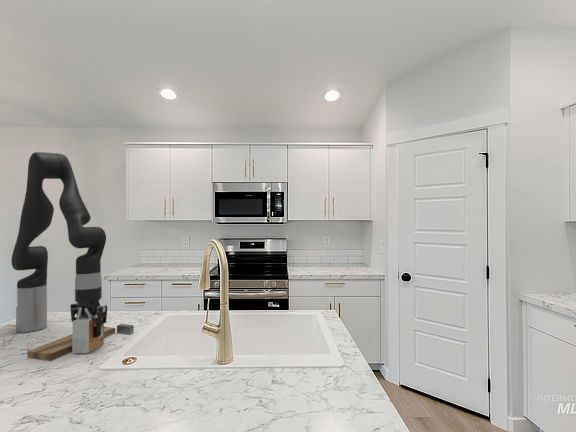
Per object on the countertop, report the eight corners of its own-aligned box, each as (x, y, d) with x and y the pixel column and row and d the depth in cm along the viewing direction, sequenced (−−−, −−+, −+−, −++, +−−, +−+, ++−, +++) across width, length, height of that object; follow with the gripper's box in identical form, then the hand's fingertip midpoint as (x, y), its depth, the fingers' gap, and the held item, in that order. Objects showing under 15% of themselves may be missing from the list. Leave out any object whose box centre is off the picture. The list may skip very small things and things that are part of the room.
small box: (88, 353, 98) (88, 320, 99) (71, 353, 99) (71, 320, 99) (104, 343, 106) (104, 313, 107) (88, 343, 107) (88, 313, 107)
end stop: (116, 333, 117) (116, 325, 117) (121, 331, 119) (121, 323, 119) (129, 334, 115) (129, 326, 115) (133, 332, 117) (133, 325, 117)
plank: (27, 357, 97) (27, 350, 97) (95, 330, 120) (95, 325, 120) (50, 361, 94) (50, 354, 94) (115, 333, 117) (115, 327, 117)
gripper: (61, 287, 101) (62, 337, 101) (94, 289, 97) (94, 342, 97) (83, 282, 109) (83, 329, 108) (114, 284, 104) (114, 333, 104)
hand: (88, 335), depth 103 cm, fingers closed on small box, 6 cm apart
